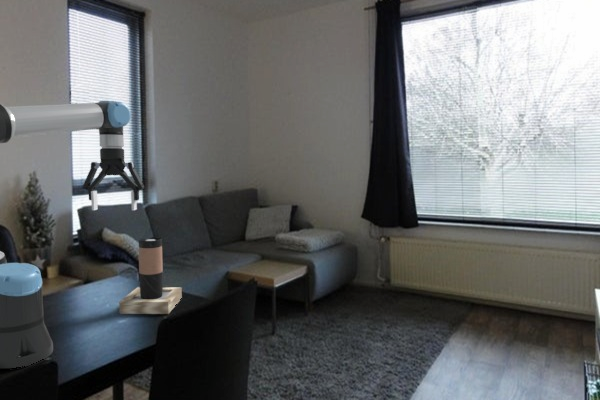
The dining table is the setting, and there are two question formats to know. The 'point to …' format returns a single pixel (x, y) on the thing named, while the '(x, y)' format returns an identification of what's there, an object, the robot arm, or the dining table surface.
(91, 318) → the dining table surface
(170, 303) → the display stand
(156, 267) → the travel mug
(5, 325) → the robot arm
